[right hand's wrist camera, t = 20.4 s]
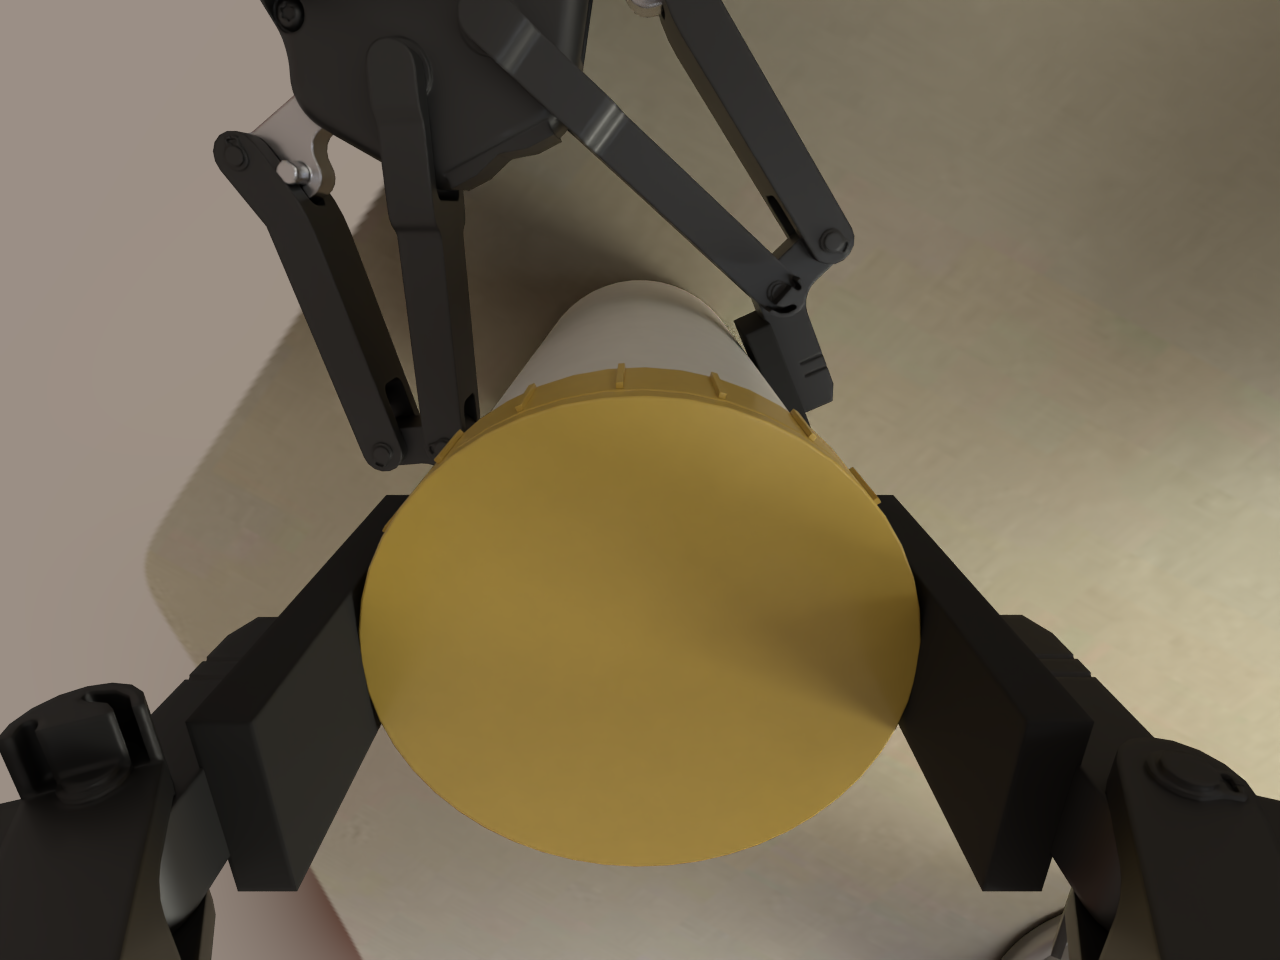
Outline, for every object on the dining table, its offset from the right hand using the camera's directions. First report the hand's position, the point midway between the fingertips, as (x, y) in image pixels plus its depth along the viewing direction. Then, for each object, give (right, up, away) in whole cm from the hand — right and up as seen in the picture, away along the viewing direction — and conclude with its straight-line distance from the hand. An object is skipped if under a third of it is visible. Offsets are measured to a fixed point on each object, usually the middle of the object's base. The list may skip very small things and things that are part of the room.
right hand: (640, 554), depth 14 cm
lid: (0, -1, -3) cm, 3 cm away
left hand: (+2, -1, +9) cm, 10 cm away
